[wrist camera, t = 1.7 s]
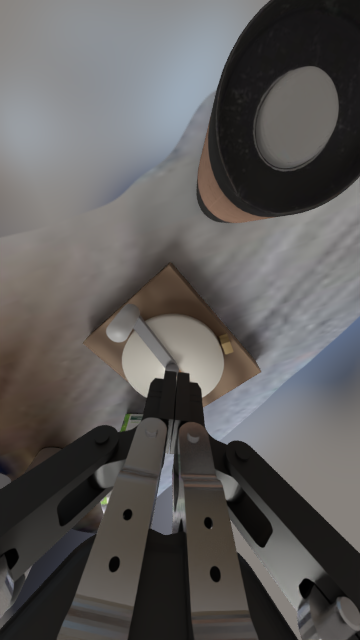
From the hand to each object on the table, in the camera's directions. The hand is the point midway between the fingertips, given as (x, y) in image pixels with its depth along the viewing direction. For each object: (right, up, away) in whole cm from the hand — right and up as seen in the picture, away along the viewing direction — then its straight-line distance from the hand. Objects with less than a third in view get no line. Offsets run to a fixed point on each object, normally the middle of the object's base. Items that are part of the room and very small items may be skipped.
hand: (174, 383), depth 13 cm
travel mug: (+6, +20, +14) cm, 25 cm away
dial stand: (-1, -1, +23) cm, 23 cm away
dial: (-2, -1, +20) cm, 20 cm away
